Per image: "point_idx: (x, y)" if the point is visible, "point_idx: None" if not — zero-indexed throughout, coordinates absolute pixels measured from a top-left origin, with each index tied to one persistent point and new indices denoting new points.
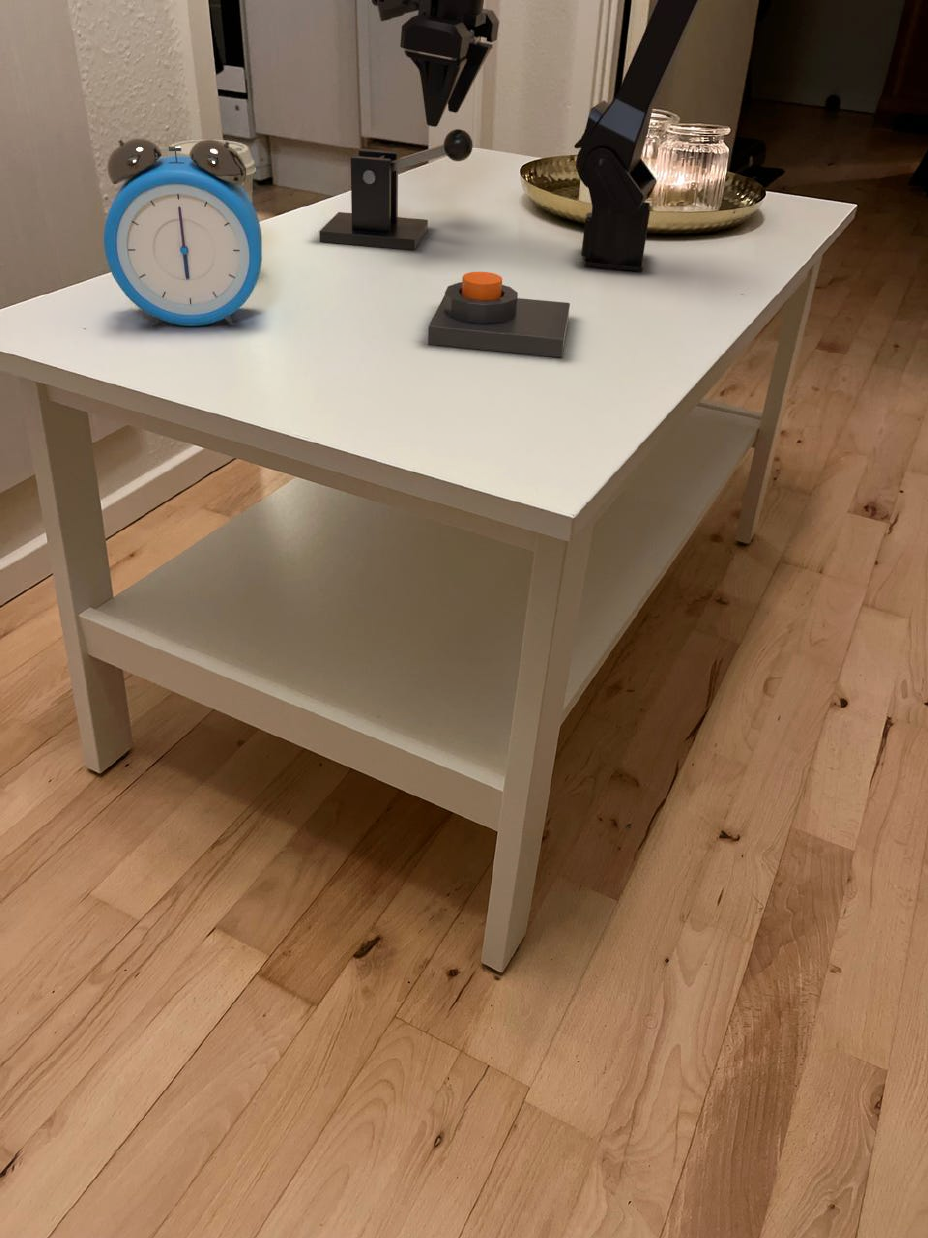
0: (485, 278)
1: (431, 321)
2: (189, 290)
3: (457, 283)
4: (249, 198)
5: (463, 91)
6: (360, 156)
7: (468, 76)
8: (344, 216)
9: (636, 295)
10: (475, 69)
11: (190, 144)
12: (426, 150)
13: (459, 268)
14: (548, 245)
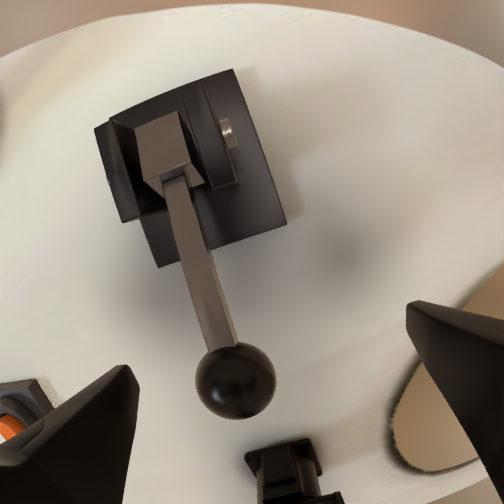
0: (9, 437)
1: None
2: None
3: (10, 409)
4: None
5: (438, 381)
6: (115, 138)
7: (469, 420)
8: (210, 92)
9: (193, 491)
10: (481, 450)
11: None
12: (200, 298)
13: (136, 352)
14: (312, 399)
